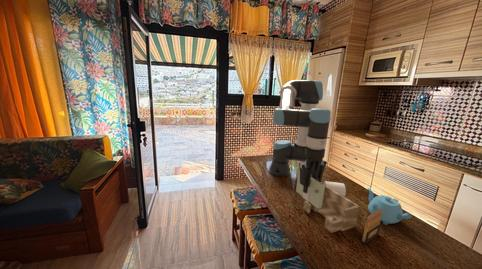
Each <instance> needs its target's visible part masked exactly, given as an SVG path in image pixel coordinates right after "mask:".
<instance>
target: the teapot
mask: <svg viewBox="0 0 482 269" xmlns="http://www.w3.org/2000/svg"><path fill="white" fill-rule="evenodd" d="M367 190H368V192H369V194H368V203H369V204H368V205H367V206H368V207H367V209H368V212H369V213H370V215H371V214H373V213H374V212H376V211H378V210H380V209H382V214H381V223H382V224H383V225H385V226H388V225H391V224H396V223H399V222H401V221H402V220H407V219H411V218H413V217H412V215H411V213H410V212H406V213H403V212H404V211H403V207H402V205H401V203H400V202H399V200H398V199H396V198H393V197H391V196H388V195H384V194H383V195H376V196H374V192H373V190H372V189H370V188H369V187H367Z"/></svg>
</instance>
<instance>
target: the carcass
mask: <svg viewBox="0 0 482 269" xmlns="http://www.w3.org/2000/svg"><path fill="white" fill-rule="evenodd" d="M302 209H303V211H305V212H306V213H307V214H311V210H312V211H313V212H317V213H319V214H320V215H321V216H322V217H324V218H325V220H324V228H325V230H327V231H328V232H329V233H331V234H333V233H335V232H338V231H341V232H344V231H347V230H349V229H352V228H355V227H357V223H358V218H359V215H360V209H361V206H360V205H358V204H357V203H355V202H353V201H352V200H350V199H349V198H347V197H346V196H345V197H343V196H342V195H340V194H338V193H337V192H335V191H333V190H332V189H330V188H328V187H327V186H325V189H324V195H323V201H322V207H321V208H316V207H315V206H314V205H313V204H311V203H310V202H309V201H307V200H304V201H303V207H302Z"/></svg>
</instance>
